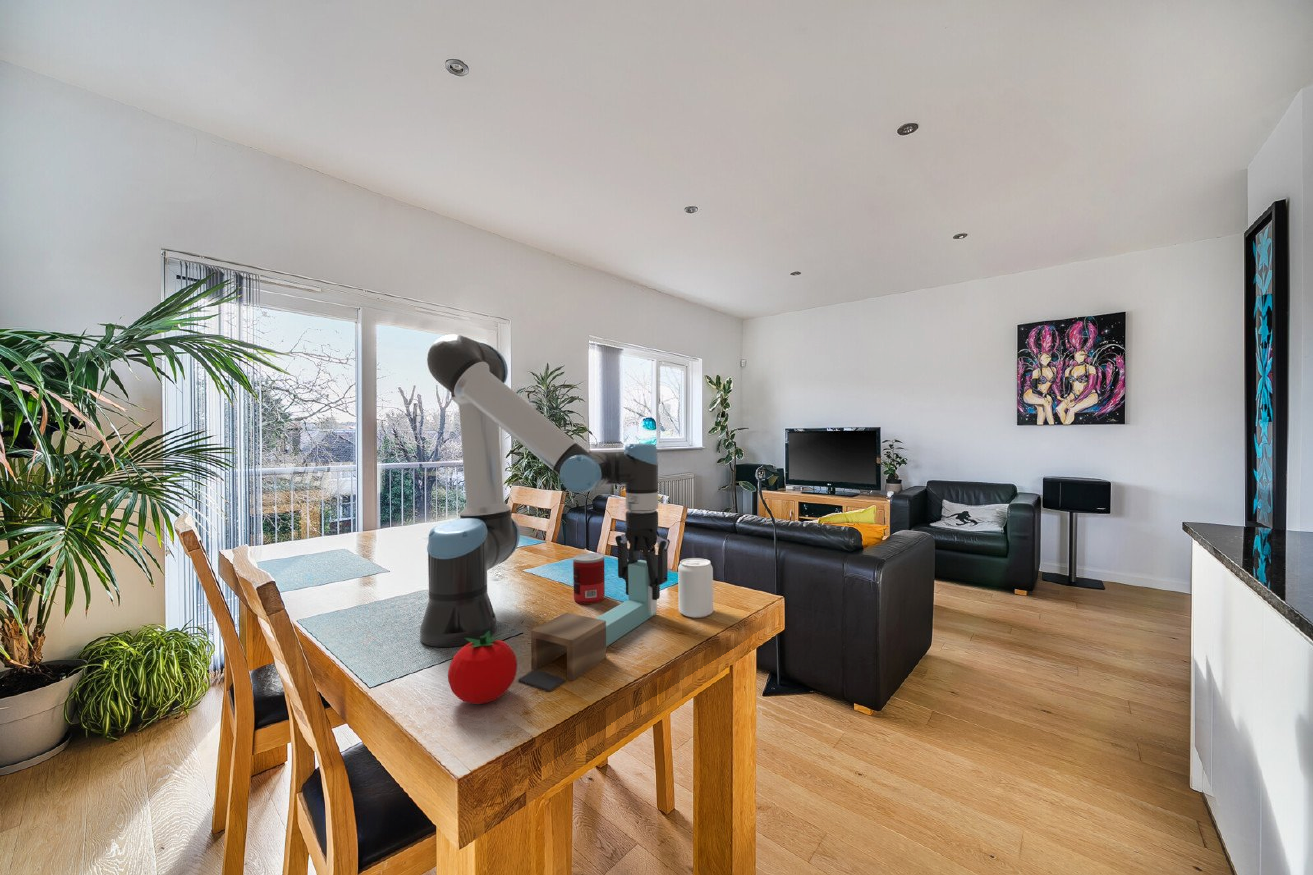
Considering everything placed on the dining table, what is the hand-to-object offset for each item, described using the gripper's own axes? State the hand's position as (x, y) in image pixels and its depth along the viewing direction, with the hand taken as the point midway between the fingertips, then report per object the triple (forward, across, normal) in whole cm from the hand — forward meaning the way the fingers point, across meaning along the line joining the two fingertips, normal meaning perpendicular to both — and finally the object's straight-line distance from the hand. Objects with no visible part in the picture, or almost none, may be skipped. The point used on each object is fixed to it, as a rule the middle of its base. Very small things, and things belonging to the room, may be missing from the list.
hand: (642, 610), depth 114 cm
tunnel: (+1, 0, -26) cm, 26 cm away
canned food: (+1, -18, +4) cm, 18 cm away
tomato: (+1, -4, -43) cm, 43 cm away
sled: (+1, 0, -8) cm, 8 cm away
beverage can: (+1, +10, +8) cm, 13 cm away
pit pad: (+1, 0, -34) cm, 34 cm away
